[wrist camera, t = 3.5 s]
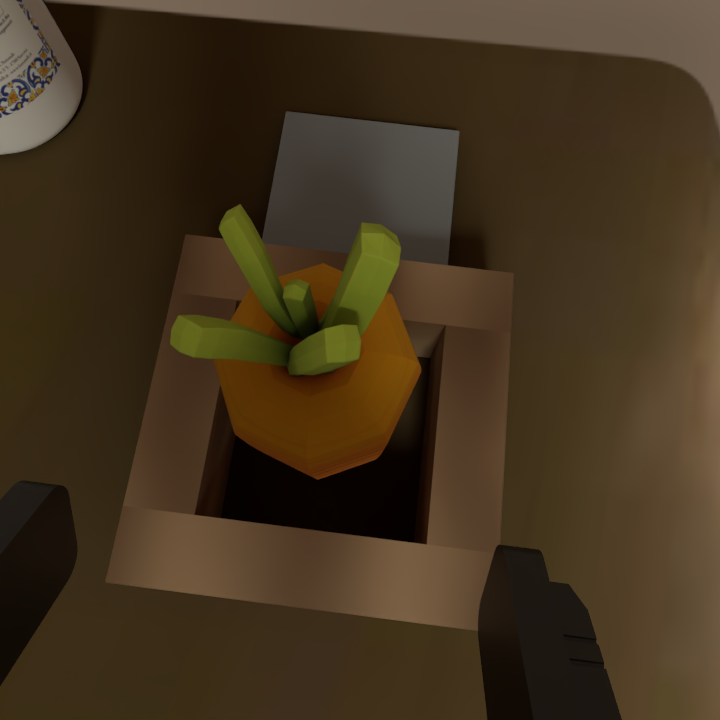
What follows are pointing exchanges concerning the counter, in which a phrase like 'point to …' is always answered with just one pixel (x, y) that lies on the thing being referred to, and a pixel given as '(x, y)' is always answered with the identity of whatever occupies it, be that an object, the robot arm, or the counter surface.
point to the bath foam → (34, 76)
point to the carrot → (310, 352)
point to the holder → (311, 547)
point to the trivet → (362, 185)
